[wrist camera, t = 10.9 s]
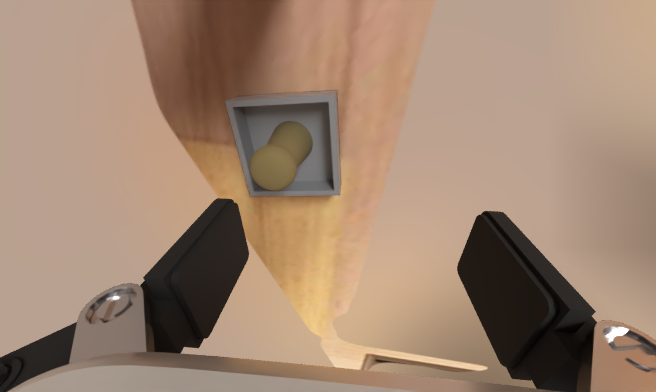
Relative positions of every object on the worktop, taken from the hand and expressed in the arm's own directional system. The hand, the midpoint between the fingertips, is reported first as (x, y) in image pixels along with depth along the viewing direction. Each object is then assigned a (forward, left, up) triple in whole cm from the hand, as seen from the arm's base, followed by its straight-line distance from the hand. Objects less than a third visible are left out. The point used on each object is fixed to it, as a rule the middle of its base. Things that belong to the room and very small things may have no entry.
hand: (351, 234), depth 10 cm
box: (+4, -9, -26) cm, 28 cm away
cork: (+4, -9, -26) cm, 28 cm away
